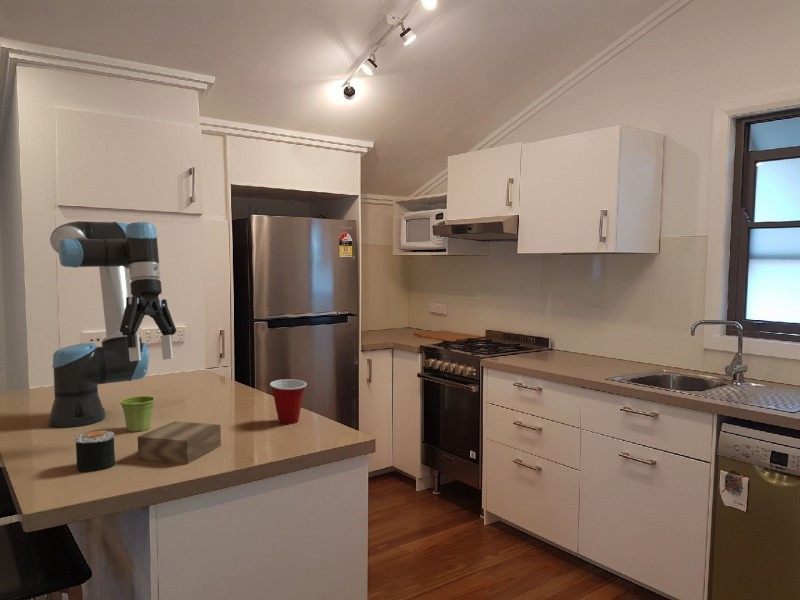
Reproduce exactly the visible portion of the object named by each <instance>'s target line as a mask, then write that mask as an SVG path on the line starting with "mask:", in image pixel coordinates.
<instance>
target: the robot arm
mask: <svg viewBox="0 0 800 600" xmlns="http://www.w3.org/2000/svg"><path fill="white" fill-rule="evenodd" d="M158 236H159V235H158V233H157V227H156V225H155V224H154V223H151V222H147V221H134V222H129V223H125V222H117V221H111V222H110V221H84V220H83V221H82V220H80V221H79V220H78V221H77V220H76V221H71V222H66V223H64V224H61V225H59V226H58V227H56V228H55V229H54V230H53V231H52V232H51V234H50V237H49V238H50V245H51V247H52V249H53V250H54V252H56V253H57V254H58V260H59V264H60V265H61V266H62V267H65V268H88V267H89V268H91V267H93V268H94V267H97V268H98V269H99V270H98V271H99V276H100V277H99V278H100V287H101V297H102V305H103V315H104V325H105V338H104V339H103V340H102V341H101V346H98V347H97V344H96V343H95V342H88V343H87V342H86V343H78V344H73V345H67V346H65V347H61V348H59V349H57V350H56V351H54V353H53V355H52V356H53V357H52V368H53V388H54V389H53V390H54V393H53V394H54V400H53V404H52V407H51V410H50V411H51V413H50V414H49V415H48V423H49V426H51V427H54V428H55V427H56V428H70V427H71V428H72V427H80V426H86V425H91V424H95V423H98V422H101V421H103V420H104V419H105V418H106V410H105V408H104V407H103V403H102V401H101V399H100V396H99V388H98V387H99V385H103V384H104V385H105V384H113V383H122V382H132V381H137V380H142V379H143V378H145V377H146V375H147V372H148V368H149V361H150V349H149V344H148V343H146V342H143V341H142V337H141V335H140V334H137V332H138V330H139V329H140V326H141V324H142V322H143V319H144V318H145V316H147V317H148V316H149V317H150V318H152V319H153V321H154V323H155V324H156V326H157V327H158V330H159V331H160V333H161V334H162V335H161V336H160V342H161V357H162V360H170V359H174V352H173V351H174V350H173V340H172V339H173V338H172V335H176V333H177V328H176V325H175V323H174V321H173V318H172V314H171V312H170V310H169V307H168V301H167V299H166V298H164V299H159V295H161V294H162V281H161V280H160V278H161V271H160V259H159V258H160V257H159V247H158V245H159V244H158ZM130 281H131V282H130Z"/></svg>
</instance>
